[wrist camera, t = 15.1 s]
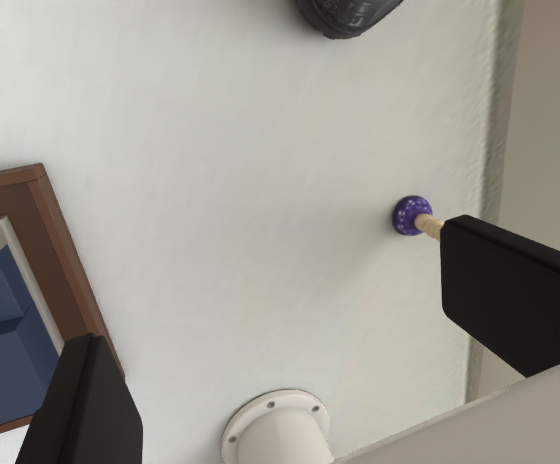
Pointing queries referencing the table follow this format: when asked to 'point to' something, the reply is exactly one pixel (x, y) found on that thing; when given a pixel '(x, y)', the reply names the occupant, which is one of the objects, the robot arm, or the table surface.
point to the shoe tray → (50, 257)
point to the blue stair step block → (23, 332)
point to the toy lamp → (416, 218)
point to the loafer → (345, 15)
